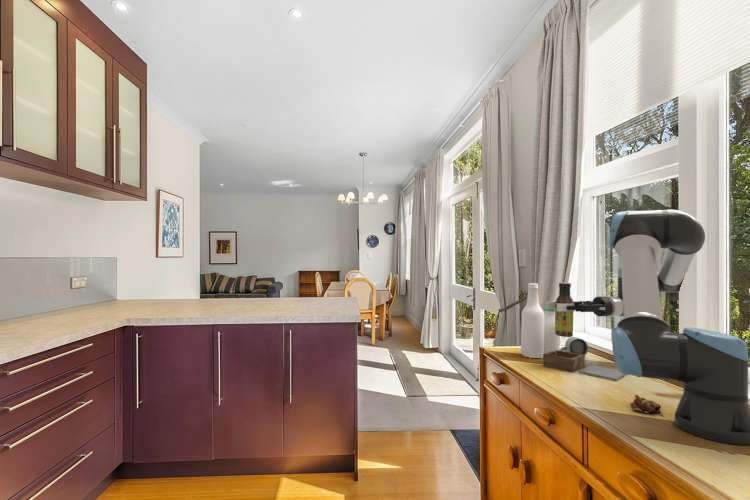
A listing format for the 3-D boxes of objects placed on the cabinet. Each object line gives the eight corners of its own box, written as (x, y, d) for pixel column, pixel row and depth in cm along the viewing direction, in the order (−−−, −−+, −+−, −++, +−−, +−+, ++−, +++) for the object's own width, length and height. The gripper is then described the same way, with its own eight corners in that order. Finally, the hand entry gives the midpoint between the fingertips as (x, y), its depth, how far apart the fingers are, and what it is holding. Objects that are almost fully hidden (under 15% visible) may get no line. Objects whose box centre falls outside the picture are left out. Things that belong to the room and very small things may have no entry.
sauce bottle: (551, 335, 153) (551, 282, 153) (563, 334, 155) (563, 282, 156) (564, 337, 147) (564, 283, 147) (577, 337, 149) (577, 283, 150)
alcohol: (517, 356, 165) (518, 283, 166) (525, 352, 172) (526, 282, 172) (539, 360, 159) (540, 284, 160) (547, 356, 166) (547, 283, 167)
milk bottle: (562, 354, 170) (562, 307, 170) (555, 357, 164) (555, 308, 164) (543, 351, 175) (543, 305, 175) (536, 354, 169) (536, 306, 170)
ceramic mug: (582, 353, 173) (582, 335, 173) (588, 357, 165) (588, 339, 165) (556, 352, 175) (556, 334, 175) (561, 356, 167) (560, 338, 167)
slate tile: (616, 381, 133) (616, 378, 133) (578, 373, 142) (578, 370, 142) (627, 374, 141) (627, 372, 141) (590, 367, 150) (590, 365, 150)
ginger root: (653, 403, 114) (653, 390, 114) (665, 418, 103) (665, 404, 103) (625, 399, 117) (625, 387, 117) (634, 414, 106) (634, 400, 106)
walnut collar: (573, 372, 143) (573, 359, 143) (543, 366, 151) (543, 354, 151) (584, 367, 150) (584, 355, 150) (555, 361, 158) (555, 349, 158)
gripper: (626, 320, 145) (568, 320, 141) (589, 313, 163) (537, 313, 159) (626, 299, 145) (568, 298, 141) (589, 294, 164) (537, 294, 160)
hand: (552, 306), depth 150 cm, fingers closed on sauce bottle, 6 cm apart
